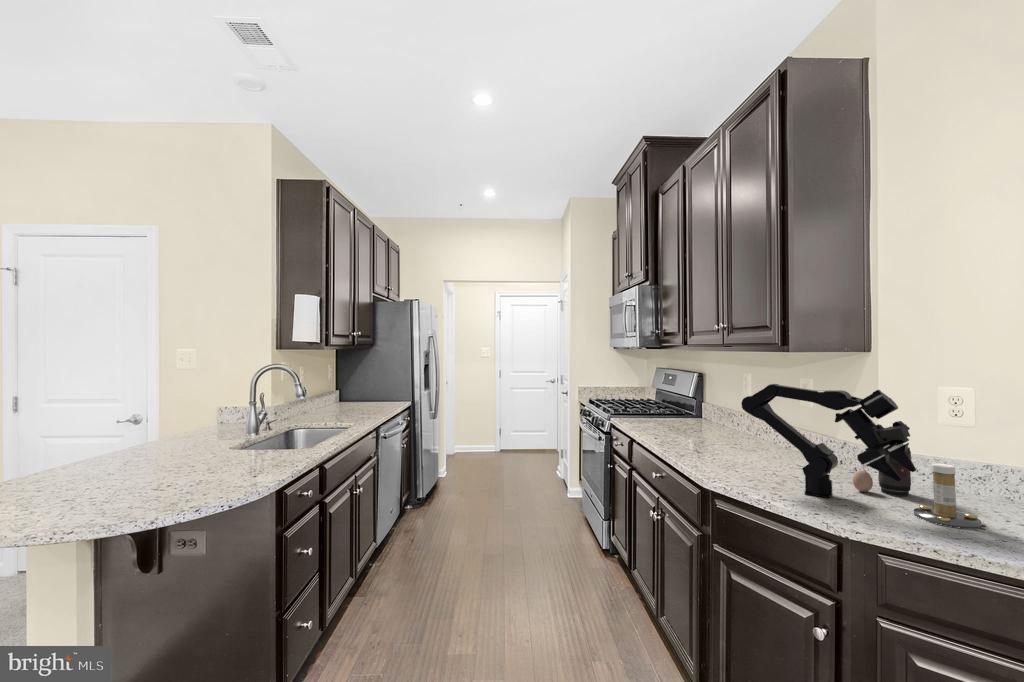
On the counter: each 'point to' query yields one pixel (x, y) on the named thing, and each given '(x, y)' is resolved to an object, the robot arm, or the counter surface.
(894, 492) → the camera lens
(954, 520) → the tribrach plate
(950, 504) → the sprinkles bottle
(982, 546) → the counter surface
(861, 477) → the egg
